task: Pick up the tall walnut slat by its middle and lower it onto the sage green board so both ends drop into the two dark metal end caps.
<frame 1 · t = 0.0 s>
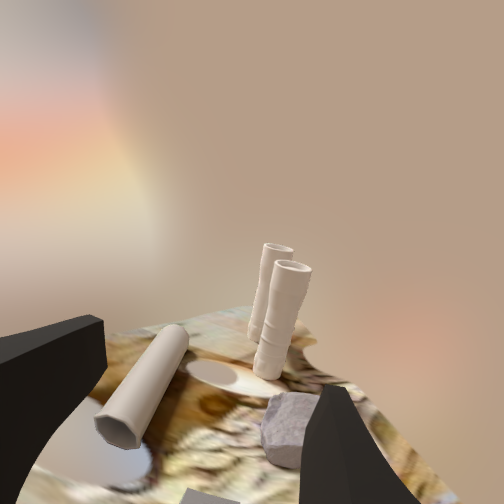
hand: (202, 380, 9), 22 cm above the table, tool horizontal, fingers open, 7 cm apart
binoculars: (262, 353, 52), on the table
stone block: (296, 437, 33), on the table
tube: (152, 386, 37), on the table
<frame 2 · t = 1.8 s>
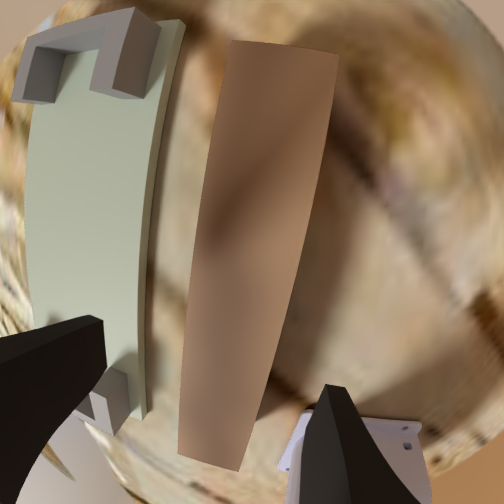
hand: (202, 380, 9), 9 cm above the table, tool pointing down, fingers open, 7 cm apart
slat: (254, 280, 17), on the table
end cap cradle: (80, 237, 18), on the table
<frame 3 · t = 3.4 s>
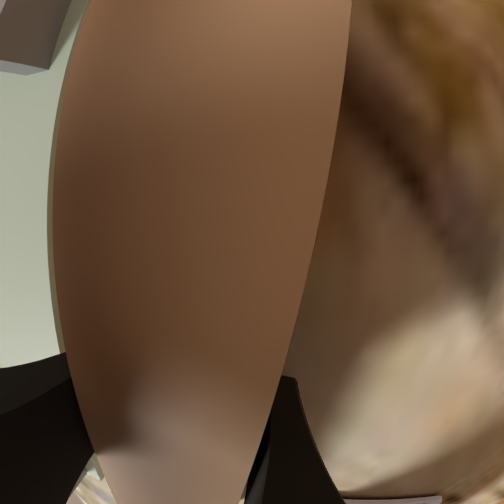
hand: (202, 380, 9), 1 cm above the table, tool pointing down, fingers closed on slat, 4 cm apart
slat: (216, 351, 10), on the table, touching gripper
end cap cradle: (0, 268, 11), on the table
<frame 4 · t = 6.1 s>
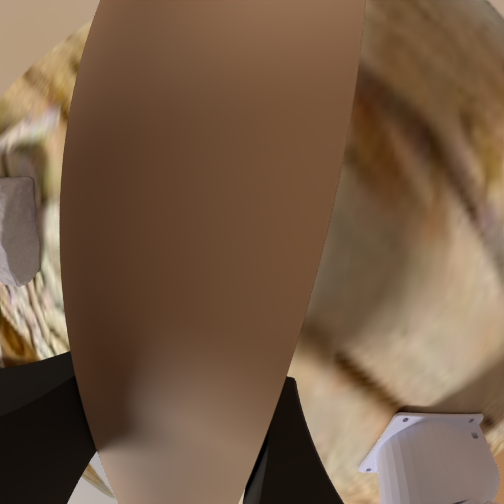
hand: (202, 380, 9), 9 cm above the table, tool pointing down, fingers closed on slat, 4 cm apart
slat: (218, 350, 10), point 8 cm above the table, touching gripper
stone block: (8, 226, 22), on the table
when the fingers open (3 cm above the table, at t = 8.8 s): slat stays where it is, resting on end cap cradle.
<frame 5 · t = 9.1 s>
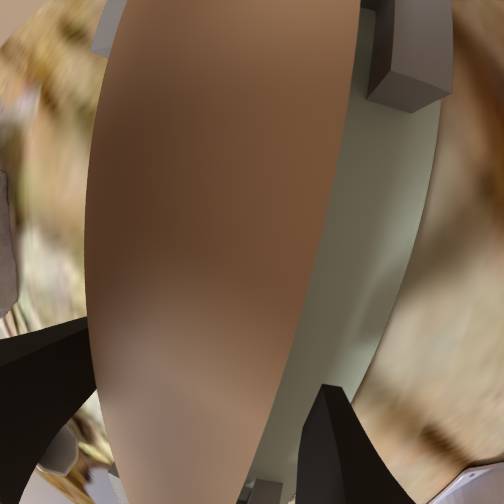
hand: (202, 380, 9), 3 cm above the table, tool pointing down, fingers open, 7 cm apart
slat: (223, 341, 11), point 1 cm above the table, touching end cap cradle
end cap cradle: (229, 327, 12), on the table
tube: (17, 418, 21), on the table
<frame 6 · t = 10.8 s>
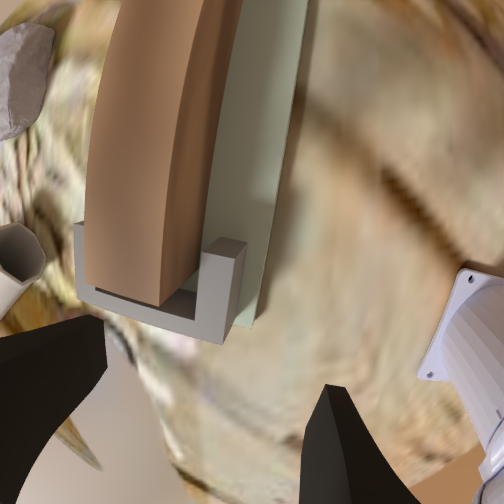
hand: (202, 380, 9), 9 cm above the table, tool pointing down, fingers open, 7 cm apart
slat: (192, 67, 14), point 1 cm above the table, touching end cap cradle
end cap cradle: (198, 71, 15), on the table
stone block: (13, 91, 17), on the table
tube: (0, 298, 24), on the table
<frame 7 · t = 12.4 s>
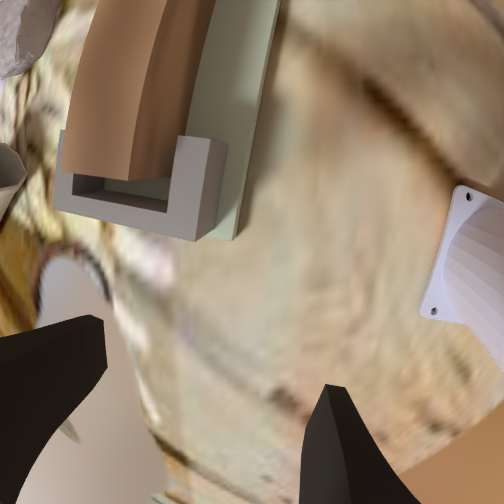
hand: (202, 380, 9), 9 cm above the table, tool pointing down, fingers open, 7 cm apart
end cap cradle: (191, 5, 14), on the table
stone block: (21, 38, 16), on the table
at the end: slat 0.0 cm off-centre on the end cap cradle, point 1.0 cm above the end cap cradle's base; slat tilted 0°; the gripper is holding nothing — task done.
